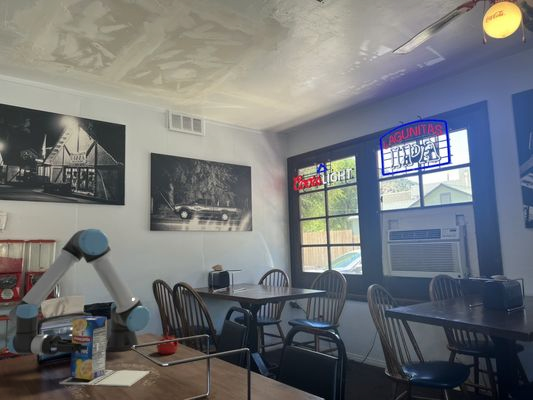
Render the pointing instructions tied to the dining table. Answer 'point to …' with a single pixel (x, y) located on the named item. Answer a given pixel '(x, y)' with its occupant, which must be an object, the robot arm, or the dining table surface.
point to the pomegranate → (167, 346)
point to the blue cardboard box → (89, 347)
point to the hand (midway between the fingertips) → (100, 345)
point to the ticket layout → (114, 378)
